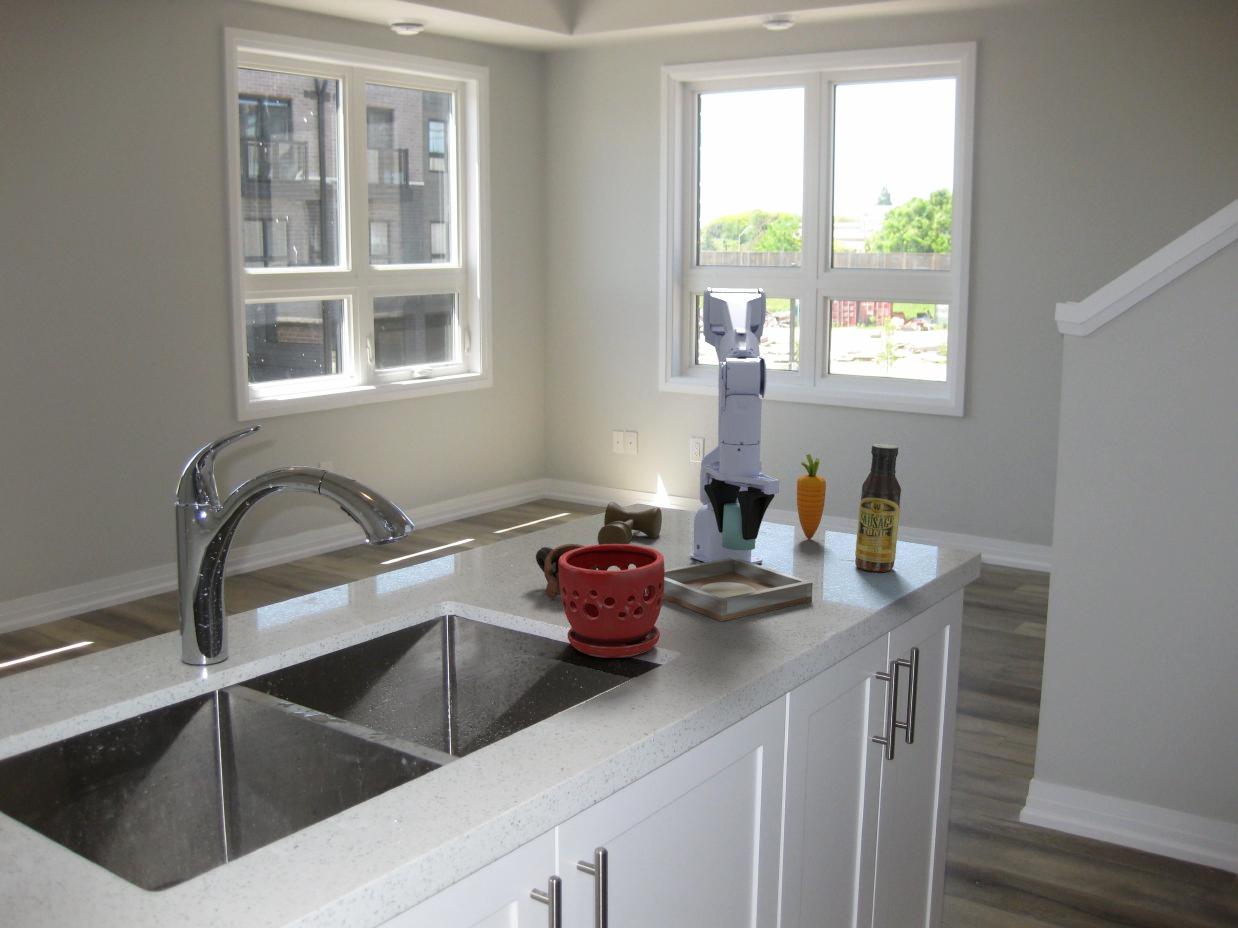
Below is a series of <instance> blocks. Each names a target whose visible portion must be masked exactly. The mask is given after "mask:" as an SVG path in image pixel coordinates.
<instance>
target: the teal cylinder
mask: <svg viewBox="0 0 1238 928" xmlns="http://www.w3.org/2000/svg"><path fill="white" fill-rule="evenodd" d="M722 547H724V548H727V549H732V550H751V551H752V550H755V549H756V539H751V540H744V539H743V535H742V515H741V509H740V505H739V503H727V504H724V515H723V533H722Z"/></svg>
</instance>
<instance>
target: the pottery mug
mask: <svg viewBox="0 0 1238 928" xmlns="http://www.w3.org/2000/svg"><path fill="white" fill-rule="evenodd" d="M581 547H586V546H585V545H582V544H578V543H567V544H562V545H559V546H556V547H555V548H551V547H548V546H547V547H546V546H544V547H541V548H540V549H539V550H537V552H536V554H535V562H536V563H537V565H538V566H539V568H540V569H541V571H542V573H544V574H543V575H544V578H545V580H546V582H547V584H546V587H545V593H546V594H545V595H546V596H547V597H548V598H549V599H550V600H552V601H555V599H556V598H557V596H561V593H560V586H559V558H560V557H561V556H562V555H563V554H564V553H566V552H569V551H571V550H574V549H577V548H581ZM590 570H598V568H597V567H596V566H593V567H591V568H590Z"/></svg>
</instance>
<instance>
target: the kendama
mask: <svg viewBox="0 0 1238 928" xmlns="http://www.w3.org/2000/svg"><path fill="white" fill-rule="evenodd" d="M605 508H606V509H605V512H604V519H603V520H604V521H603V523H604V524H603V525H604V526H602V527H601V528H600V530H599V531H598V534H597V545H600V544H629V543H630V542H631V540H632V538H633V531H637V532H641V533H643V534H645V535H646V536H648V537H649V538H651V539H657V538H658V537H659V535H660V534H661V531H662V523H663V521H662V520H663V519H662V518H663V515H662V513H663V512H662V510H661V508H660V507H654V508H650V509H646V510H644V511H635V510H628V509H625V507H624V508H623V507H622V506H621V505H619V503H616V502H614V501H610V502H609V503H608V504H607V506H606V507H605Z"/></svg>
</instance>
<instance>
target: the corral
mask: <svg viewBox="0 0 1238 928" xmlns="http://www.w3.org/2000/svg"><path fill="white" fill-rule="evenodd" d="M645 592H646V593H649V590H648V588H646V590H645ZM663 599H664V600H666V601H670V602H671V603H674V604H676V605H680V606H682V607H685V608H686V609H688V610H692V611H694V612H697V613H699V614H701V615H704V616H707V617H710V618H712V619H714V620H717V621H718V622H719V621H720V622H724V621H729V620H732V619H738V618H743V617H747V616H751V615H756V614H760V613H761V614H762V613H764V612H765V613H766V612H770V611H775V610H779V609H783V608H787V607H792V606H796V605H797V606H798V605H801V604H805V603H811V602H812V601H813V581H809V580H806V579H803V578H800V577H797V576H794V575H790V574H788V573H784V572H782V571H778V570H776V569H772V568H769V567H766V566H764V565H759V564H758V563H757V564H754V563H751V562H748V561H745V560H742V559H739V558H735V557H733V558H727V559H722V560H716V561H711V562H701V563H696V564H695V563H694V564H690V565H684V566H678V567H673V568H667V569H665V576H664V593H663Z"/></svg>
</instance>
